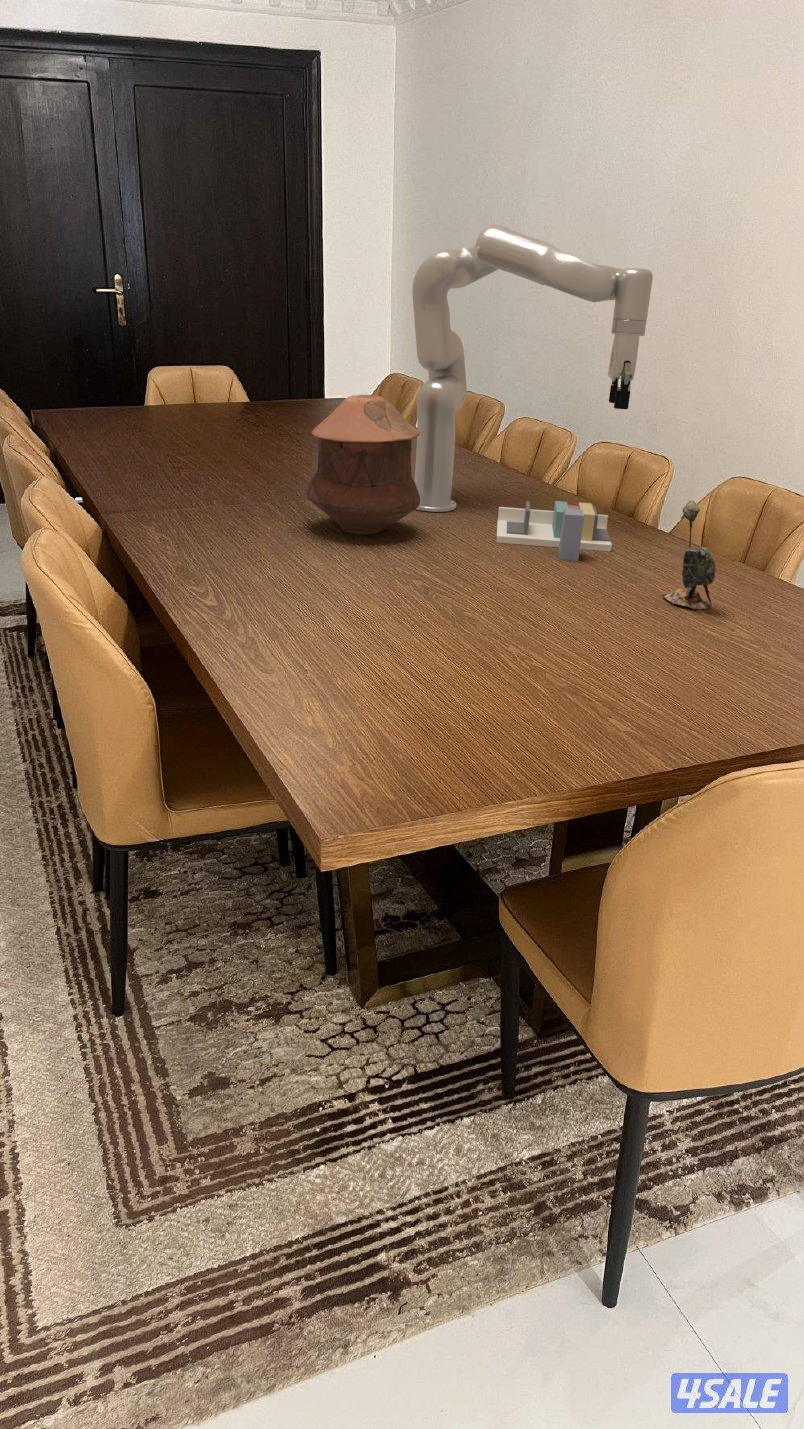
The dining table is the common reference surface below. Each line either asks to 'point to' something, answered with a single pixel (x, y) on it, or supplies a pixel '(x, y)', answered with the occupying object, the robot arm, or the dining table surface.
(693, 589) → the green and brown figurine
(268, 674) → the dining table surface
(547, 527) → the book shelf
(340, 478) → the pottery vessel
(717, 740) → the dining table surface
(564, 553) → the boxed book
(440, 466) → the robot arm
